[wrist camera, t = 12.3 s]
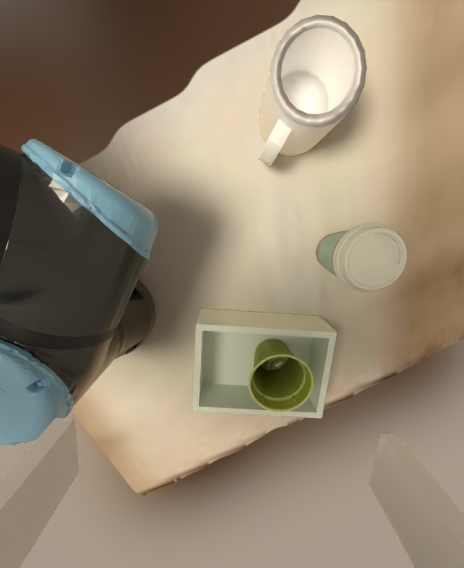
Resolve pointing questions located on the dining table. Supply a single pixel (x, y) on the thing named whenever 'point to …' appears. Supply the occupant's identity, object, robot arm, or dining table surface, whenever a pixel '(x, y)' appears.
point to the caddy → (240, 358)
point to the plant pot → (279, 378)
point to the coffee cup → (364, 256)
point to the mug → (310, 85)
